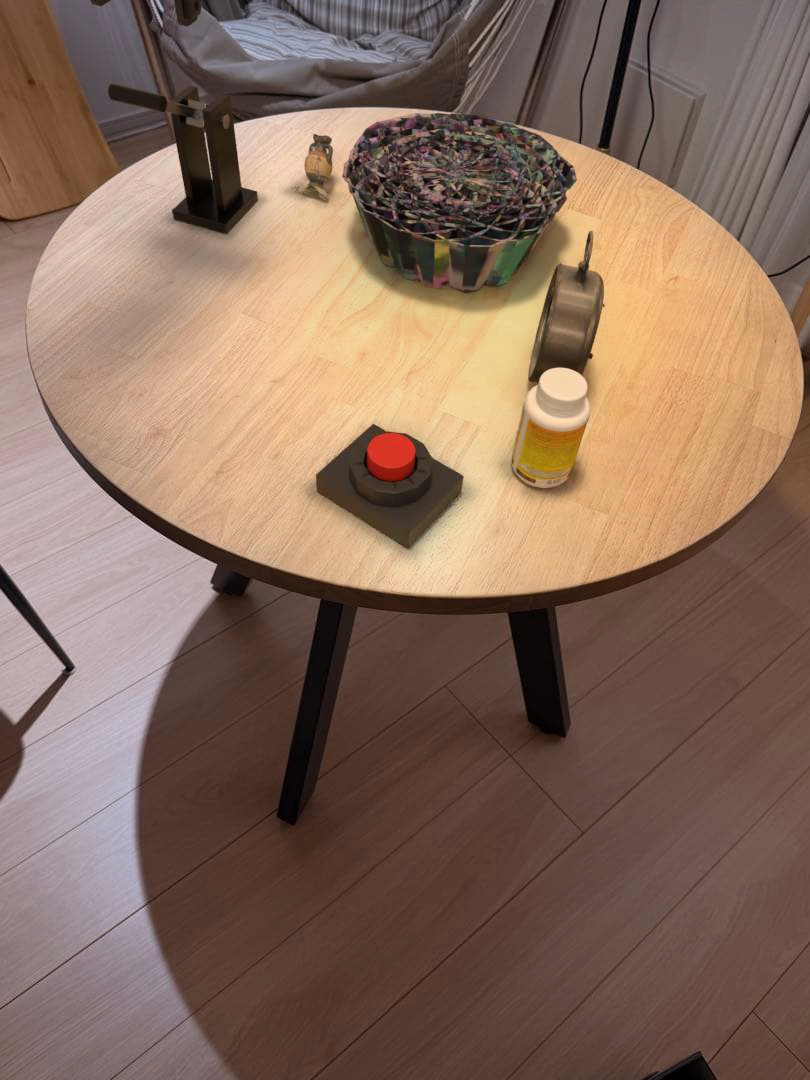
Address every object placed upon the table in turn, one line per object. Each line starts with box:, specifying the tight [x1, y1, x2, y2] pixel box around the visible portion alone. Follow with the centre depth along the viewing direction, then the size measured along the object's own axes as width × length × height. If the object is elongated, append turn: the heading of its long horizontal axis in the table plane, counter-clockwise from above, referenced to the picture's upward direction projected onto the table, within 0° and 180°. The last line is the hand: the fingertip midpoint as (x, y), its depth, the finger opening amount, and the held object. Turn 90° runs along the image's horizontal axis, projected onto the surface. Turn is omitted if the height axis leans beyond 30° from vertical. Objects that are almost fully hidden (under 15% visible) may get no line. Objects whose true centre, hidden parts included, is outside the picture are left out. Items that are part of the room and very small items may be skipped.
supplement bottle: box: [511, 368, 591, 489], centre depth 68 cm, size 6×6×10 cm
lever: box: [107, 82, 210, 130], centre depth 81 cm, size 14×6×2 cm, turn 159°
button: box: [367, 433, 416, 482], centre depth 66 cm, size 4×4×2 cm
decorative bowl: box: [341, 112, 578, 294], centre depth 90 cm, size 26×28×10 cm
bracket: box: [170, 85, 259, 235], centre depth 89 cm, size 8×7×13 cm
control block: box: [315, 423, 465, 549], centre depth 68 cm, size 10×8×4 cm
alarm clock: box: [527, 230, 606, 384], centre depth 73 cm, size 11×5×16 cm, turn 168°
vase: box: [290, 133, 334, 201], centre depth 96 cm, size 5×5×6 cm
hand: (145, 12), depth 68 cm, fingers open, 8 cm apart
